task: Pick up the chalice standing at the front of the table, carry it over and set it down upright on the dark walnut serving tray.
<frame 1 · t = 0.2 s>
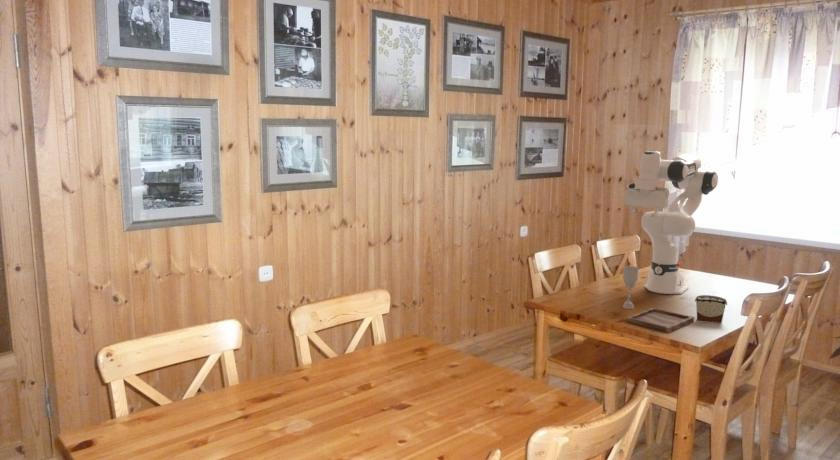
hand: (643, 216, 286), 39 cm above the table, tool pointing down, fingers open, 8 cm apart
serving tray: (660, 321, 258), on the table
food container: (708, 320, 261), on the table
chalice: (628, 307, 279), on the table
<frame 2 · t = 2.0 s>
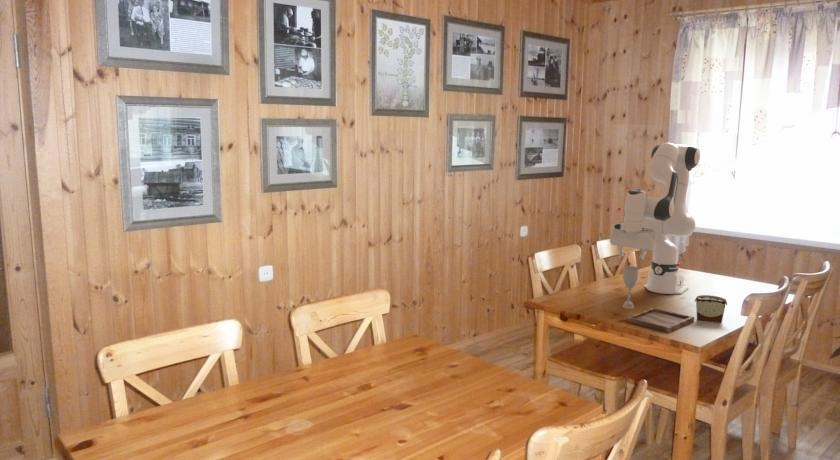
hand: (631, 257, 275), 23 cm above the table, tool pointing down, fingers open, 8 cm apart
nothing on the table moved.
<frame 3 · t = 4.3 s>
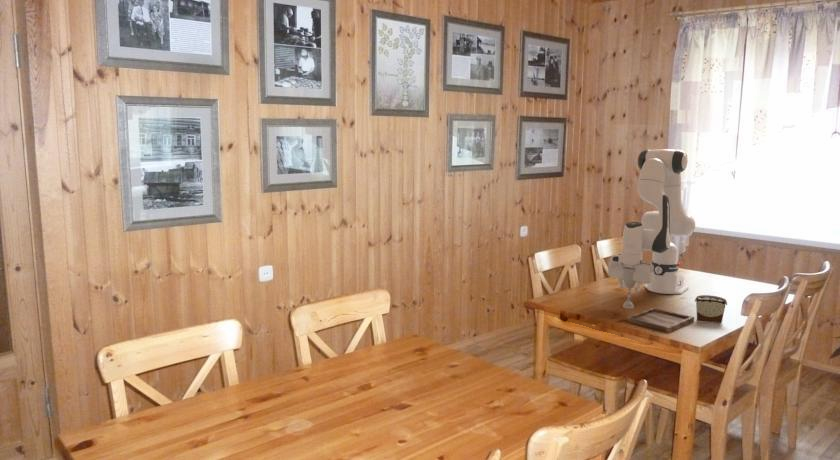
hand: (629, 289, 278), 8 cm above the table, tool pointing down, fingers closed on chalice, 6 cm apart
chalice: (628, 307, 279), on the table, touching gripper
everything else where it was.
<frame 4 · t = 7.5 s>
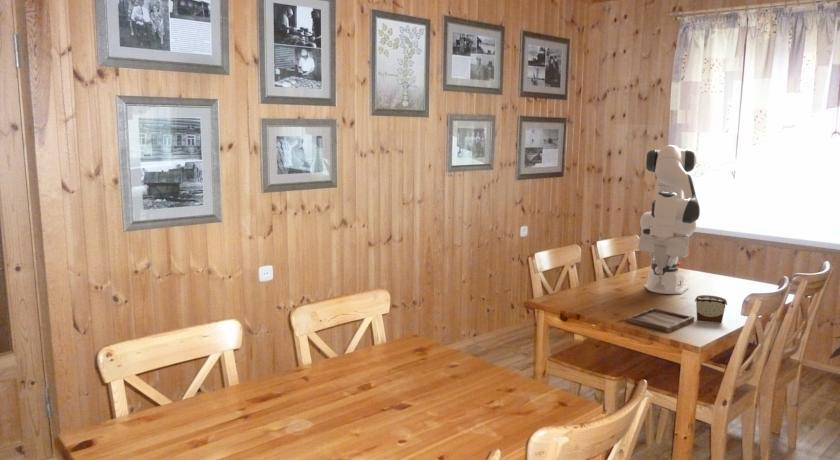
hand: (661, 264, 255), 24 cm above the table, tool pointing down, fingers closed on chalice, 5 cm apart
chalice: (659, 288, 257), point 14 cm above the table, touching gripper
everything else where it was.
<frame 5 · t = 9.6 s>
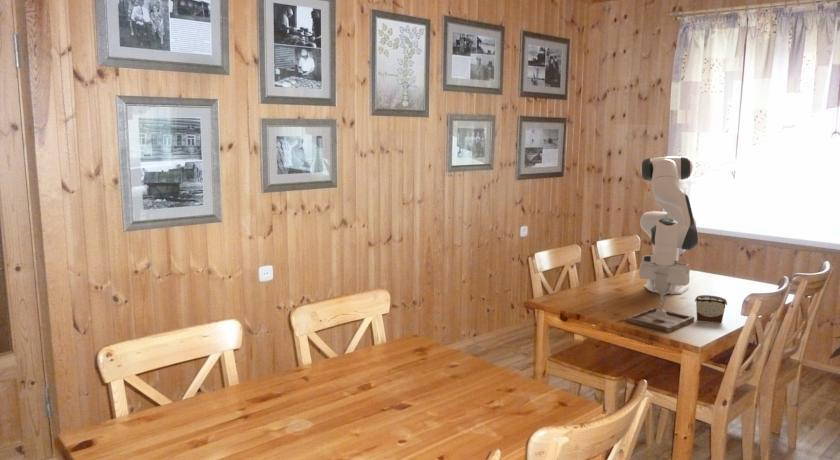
hand: (662, 292, 256), 13 cm above the table, tool pointing down, fingers closed on chalice, 5 cm apart
chalice: (660, 315, 257), point 3 cm above the table, touching gripper
everything else where it was.
when the fingers open (11 cm above the table, at t = 11.0 s): chalice stays where it is, resting on serving tray.
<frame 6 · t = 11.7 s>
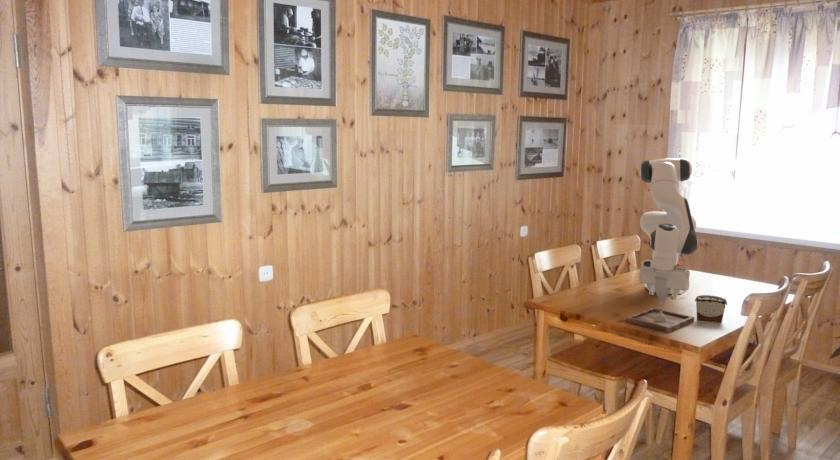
hand: (662, 297, 256), 11 cm above the table, tool pointing down, fingers open, 8 cm apart
chalice: (660, 320, 258), point 1 cm above the table, touching serving tray
everything else where it was.
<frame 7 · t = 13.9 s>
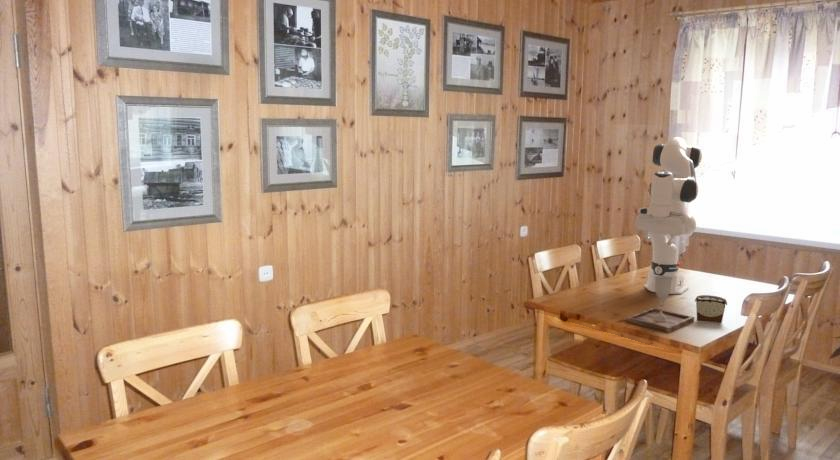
hand: (658, 243, 263), 31 cm above the table, tool pointing down, fingers open, 8 cm apart
nothing on the table moved.
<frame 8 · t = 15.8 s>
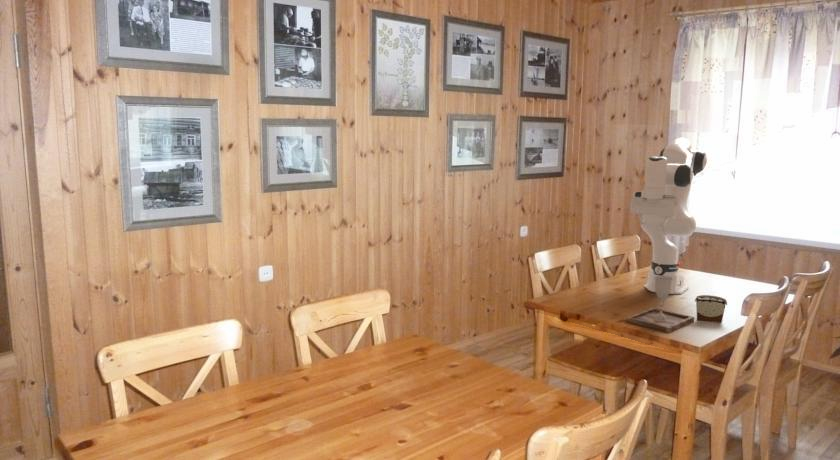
hand: (652, 225, 272), 37 cm above the table, tool pointing down, fingers open, 8 cm apart
nothing on the table moved.
at the end: chalice inside the target area on the serving tray (0.1 cm from its centre), point 0.6 cm above the serving tray's base; chalice tilted 0°; the gripper is holding nothing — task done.
